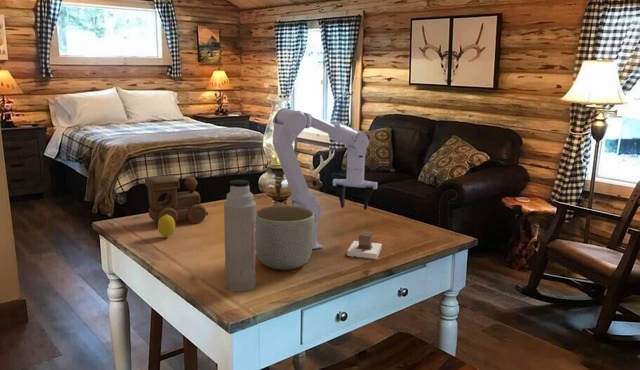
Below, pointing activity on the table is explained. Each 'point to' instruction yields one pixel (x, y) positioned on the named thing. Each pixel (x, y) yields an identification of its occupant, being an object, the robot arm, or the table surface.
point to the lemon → (166, 225)
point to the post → (365, 240)
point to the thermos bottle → (240, 237)
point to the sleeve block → (362, 252)
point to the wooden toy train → (174, 199)
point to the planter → (284, 236)
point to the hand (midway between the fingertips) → (354, 208)
